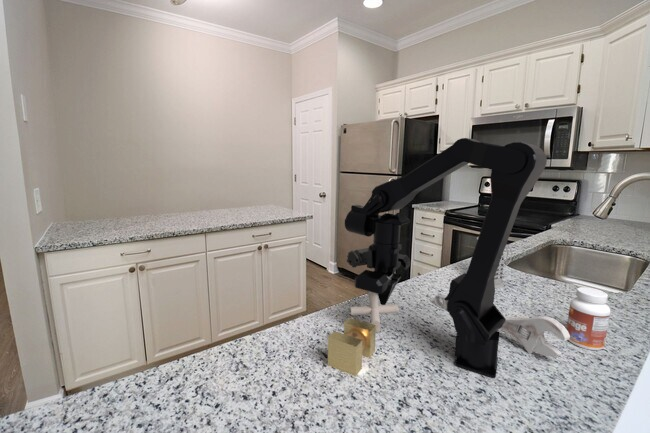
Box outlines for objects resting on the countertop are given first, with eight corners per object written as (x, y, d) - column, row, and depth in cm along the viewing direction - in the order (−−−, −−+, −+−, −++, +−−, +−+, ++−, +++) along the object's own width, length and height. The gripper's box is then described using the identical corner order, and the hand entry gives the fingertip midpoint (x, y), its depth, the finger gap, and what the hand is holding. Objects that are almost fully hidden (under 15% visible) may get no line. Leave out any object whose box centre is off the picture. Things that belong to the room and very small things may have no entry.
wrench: (439, 313, 81) (570, 367, 54) (434, 315, 80) (565, 370, 53) (438, 284, 81) (570, 323, 54) (433, 285, 80) (564, 325, 53)
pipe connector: (402, 344, 61) (399, 301, 59) (353, 346, 63) (347, 303, 60) (397, 315, 71) (394, 276, 68) (354, 317, 72) (349, 279, 70)
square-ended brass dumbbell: (349, 343, 62) (349, 317, 61) (374, 351, 59) (375, 325, 58) (327, 365, 55) (328, 337, 54) (355, 376, 52) (356, 346, 51)
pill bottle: (557, 334, 66) (564, 285, 64) (586, 334, 66) (593, 285, 64) (581, 351, 60) (589, 298, 58) (613, 351, 60) (622, 298, 58)
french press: (463, 277, 99) (469, 200, 95) (496, 275, 101) (504, 200, 96) (482, 289, 90) (489, 204, 86) (518, 287, 91) (527, 204, 87)
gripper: (370, 227, 80) (368, 282, 83) (333, 245, 65) (332, 312, 68) (412, 233, 74) (408, 293, 77) (382, 254, 59) (379, 327, 62)
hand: (382, 304), depth 71 cm, fingers closed
